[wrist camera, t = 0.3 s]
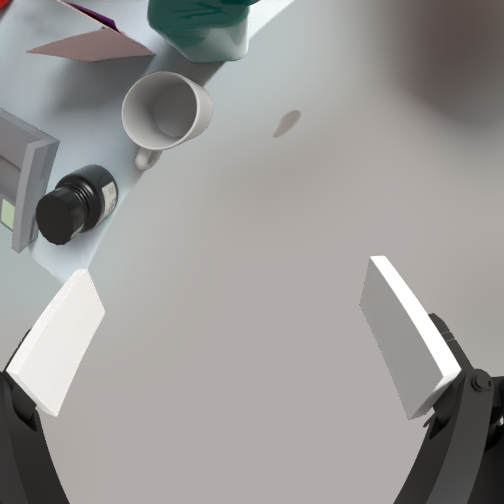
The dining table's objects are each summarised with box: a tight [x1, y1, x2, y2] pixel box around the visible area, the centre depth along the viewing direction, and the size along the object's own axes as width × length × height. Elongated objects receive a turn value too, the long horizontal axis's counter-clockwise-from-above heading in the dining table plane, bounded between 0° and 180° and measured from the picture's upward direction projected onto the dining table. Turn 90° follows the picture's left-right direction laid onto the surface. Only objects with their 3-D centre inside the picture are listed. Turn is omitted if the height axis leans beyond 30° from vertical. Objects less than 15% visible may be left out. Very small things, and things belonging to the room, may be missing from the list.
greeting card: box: [26, 0, 156, 62], centre depth 20 cm, size 11×7×15 cm, turn 46°
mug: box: [121, 71, 213, 170], centre depth 28 cm, size 12×8×11 cm
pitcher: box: [147, 0, 260, 63], centre depth 17 cm, size 10×8×22 cm
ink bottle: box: [35, 165, 118, 245], centre depth 32 cm, size 10×9×12 cm
